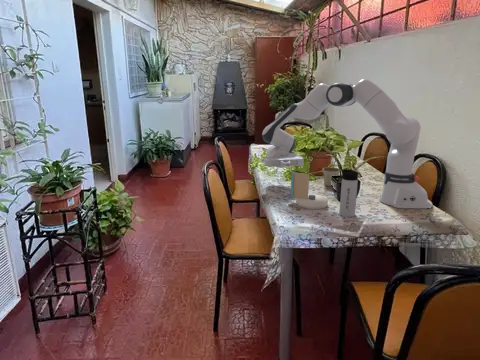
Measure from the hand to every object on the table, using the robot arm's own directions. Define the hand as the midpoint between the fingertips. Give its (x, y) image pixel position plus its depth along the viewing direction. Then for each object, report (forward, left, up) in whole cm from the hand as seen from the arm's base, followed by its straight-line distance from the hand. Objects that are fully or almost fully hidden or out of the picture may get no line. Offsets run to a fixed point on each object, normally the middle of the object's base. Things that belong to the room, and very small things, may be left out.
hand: (287, 165), depth 180 cm
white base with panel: (-12, +15, -14) cm, 23 cm away
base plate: (-13, +15, -15) cm, 25 cm away
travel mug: (-28, +24, -15) cm, 40 cm away
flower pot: (-21, -23, -15) cm, 35 cm away
